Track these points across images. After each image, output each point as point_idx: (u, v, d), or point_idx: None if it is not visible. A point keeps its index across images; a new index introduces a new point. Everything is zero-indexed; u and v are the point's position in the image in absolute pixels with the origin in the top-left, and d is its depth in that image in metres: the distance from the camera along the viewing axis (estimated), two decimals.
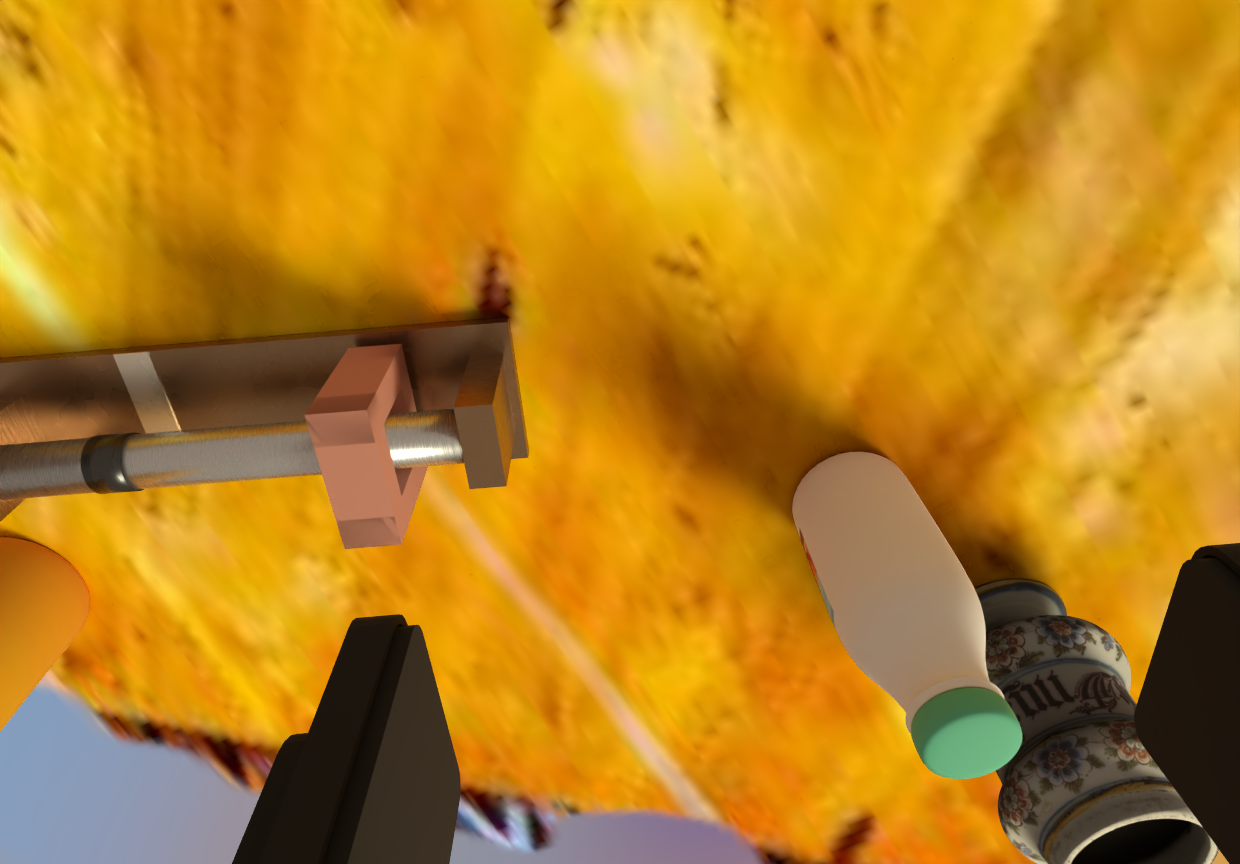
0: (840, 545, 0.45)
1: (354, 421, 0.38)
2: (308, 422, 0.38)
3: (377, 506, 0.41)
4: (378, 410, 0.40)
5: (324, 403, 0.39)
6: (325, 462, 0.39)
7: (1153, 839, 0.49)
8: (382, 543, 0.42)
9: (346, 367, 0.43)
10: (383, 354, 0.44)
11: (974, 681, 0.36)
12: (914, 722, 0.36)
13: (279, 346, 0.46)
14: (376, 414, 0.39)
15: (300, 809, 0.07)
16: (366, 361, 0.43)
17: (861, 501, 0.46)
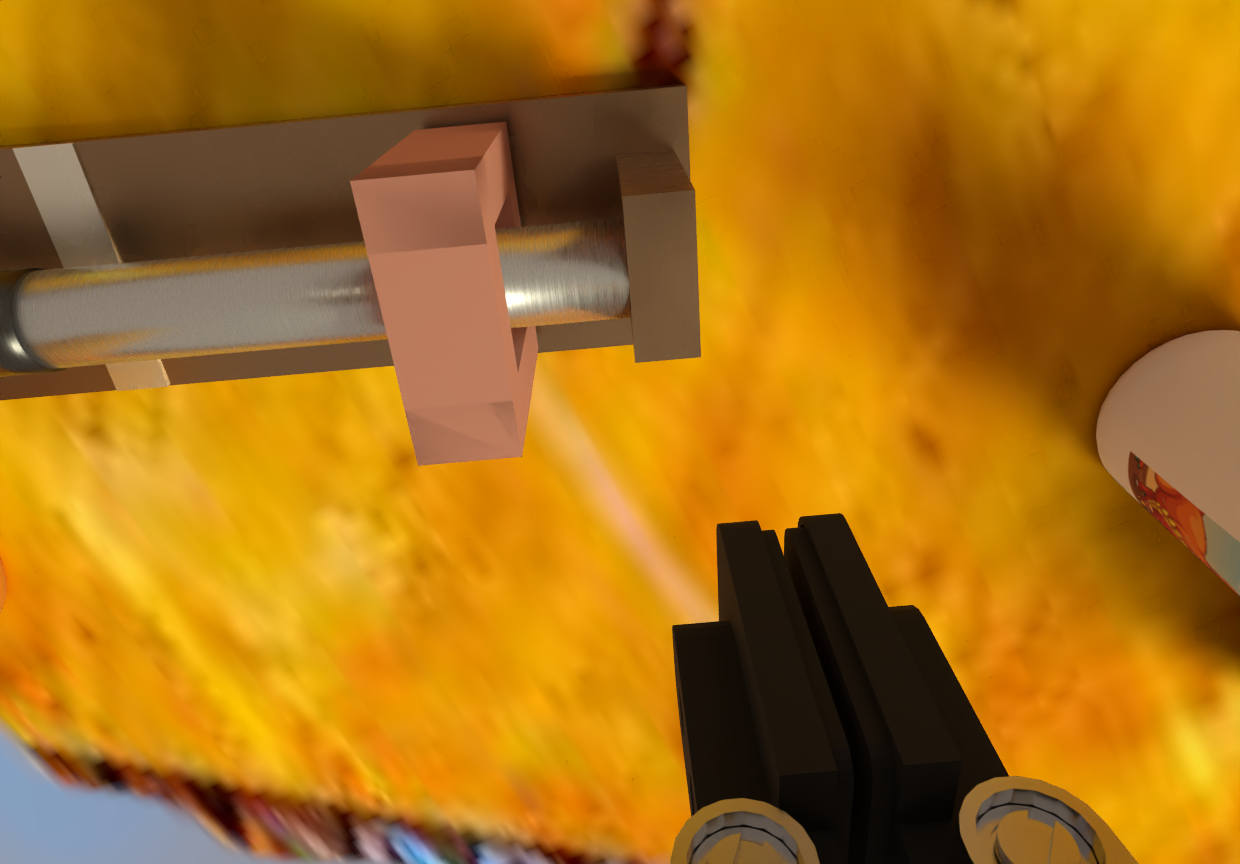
0: None
1: (448, 196, 0.19)
2: (358, 198, 0.19)
3: (483, 380, 0.22)
4: (487, 191, 0.21)
5: (387, 169, 0.20)
6: (388, 287, 0.20)
7: None
8: (487, 454, 0.23)
9: (417, 142, 0.24)
10: (479, 129, 0.25)
11: None
12: None
13: (296, 134, 0.27)
14: (486, 195, 0.21)
15: (772, 663, 0.08)
16: (451, 136, 0.24)
17: None
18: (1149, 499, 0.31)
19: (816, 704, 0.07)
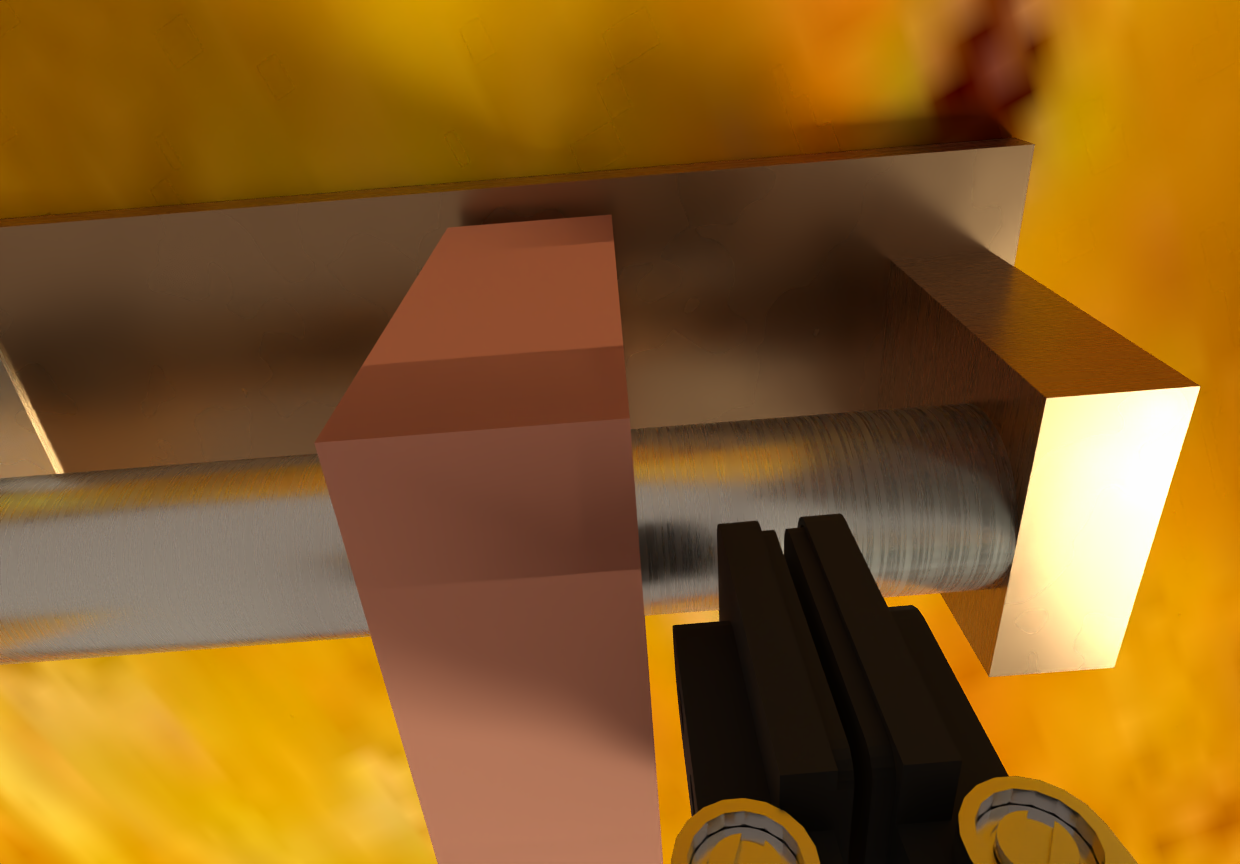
0: None
1: (560, 474, 0.08)
2: (335, 479, 0.08)
3: (602, 803, 0.10)
4: None
5: (406, 388, 0.09)
6: (406, 650, 0.09)
7: None
8: None
9: (459, 270, 0.12)
10: (570, 237, 0.13)
11: None
12: None
13: (340, 221, 0.15)
14: None
15: (772, 663, 0.08)
16: (521, 254, 0.13)
17: None
18: None
19: (817, 704, 0.07)
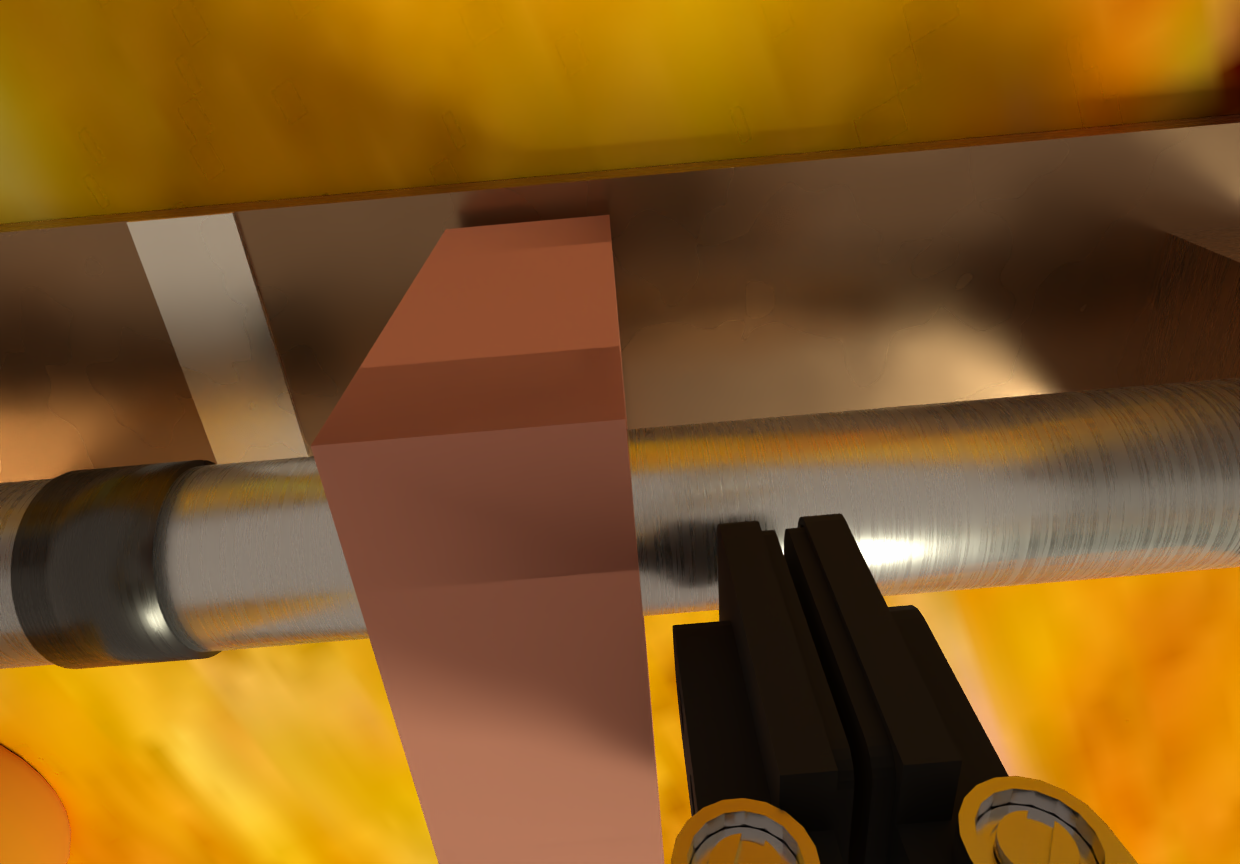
0: None
1: (556, 475, 0.08)
2: (331, 482, 0.08)
3: (602, 804, 0.10)
4: None
5: (403, 390, 0.09)
6: (404, 652, 0.09)
7: None
8: None
9: (457, 271, 0.12)
10: (568, 238, 0.13)
11: None
12: None
13: (628, 197, 0.15)
14: (627, 438, 0.09)
15: (772, 663, 0.08)
16: (519, 255, 0.13)
17: None
18: None
19: (817, 705, 0.07)
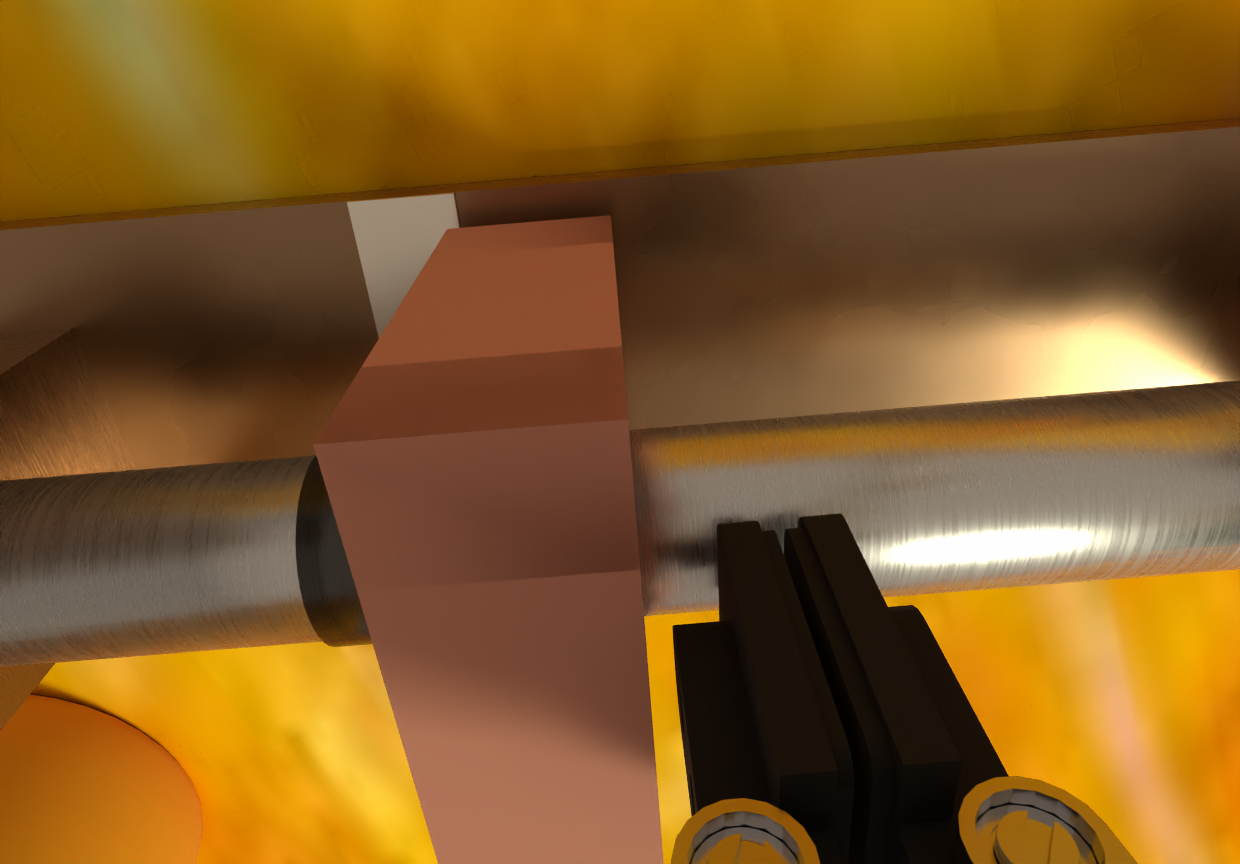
0: None
1: (558, 475, 0.08)
2: (334, 481, 0.08)
3: (602, 804, 0.10)
4: None
5: (405, 389, 0.09)
6: (405, 652, 0.09)
7: None
8: None
9: (458, 271, 0.12)
10: (569, 238, 0.13)
11: None
12: None
13: (848, 180, 0.15)
14: None
15: (772, 663, 0.08)
16: (521, 256, 0.13)
17: None
18: None
19: (816, 704, 0.07)
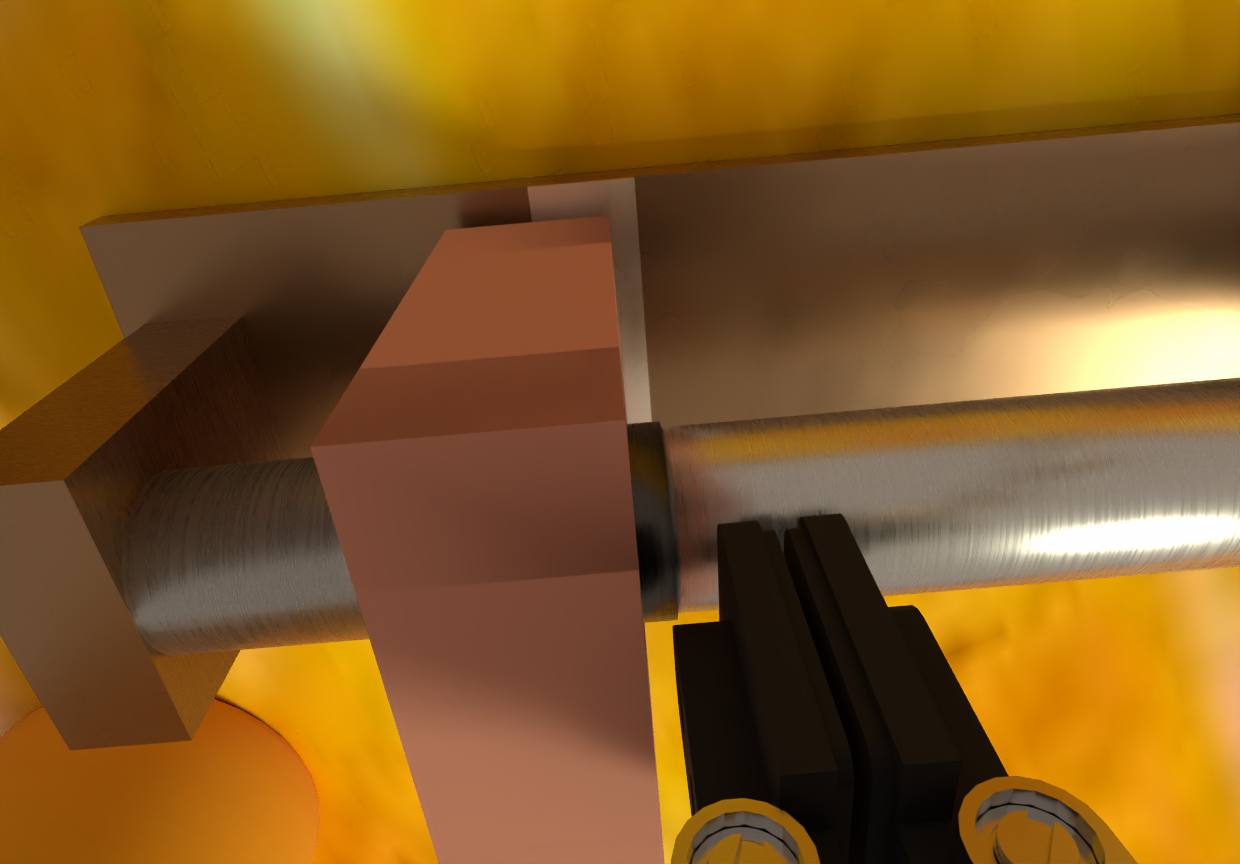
0: None
1: (556, 476, 0.08)
2: (331, 483, 0.08)
3: (602, 805, 0.10)
4: None
5: (402, 391, 0.09)
6: (404, 653, 0.09)
7: None
8: None
9: (457, 272, 0.12)
10: (568, 238, 0.13)
11: None
12: None
13: (1028, 162, 0.15)
14: None
15: (772, 663, 0.08)
16: (519, 256, 0.13)
17: None
18: None
19: (817, 704, 0.07)
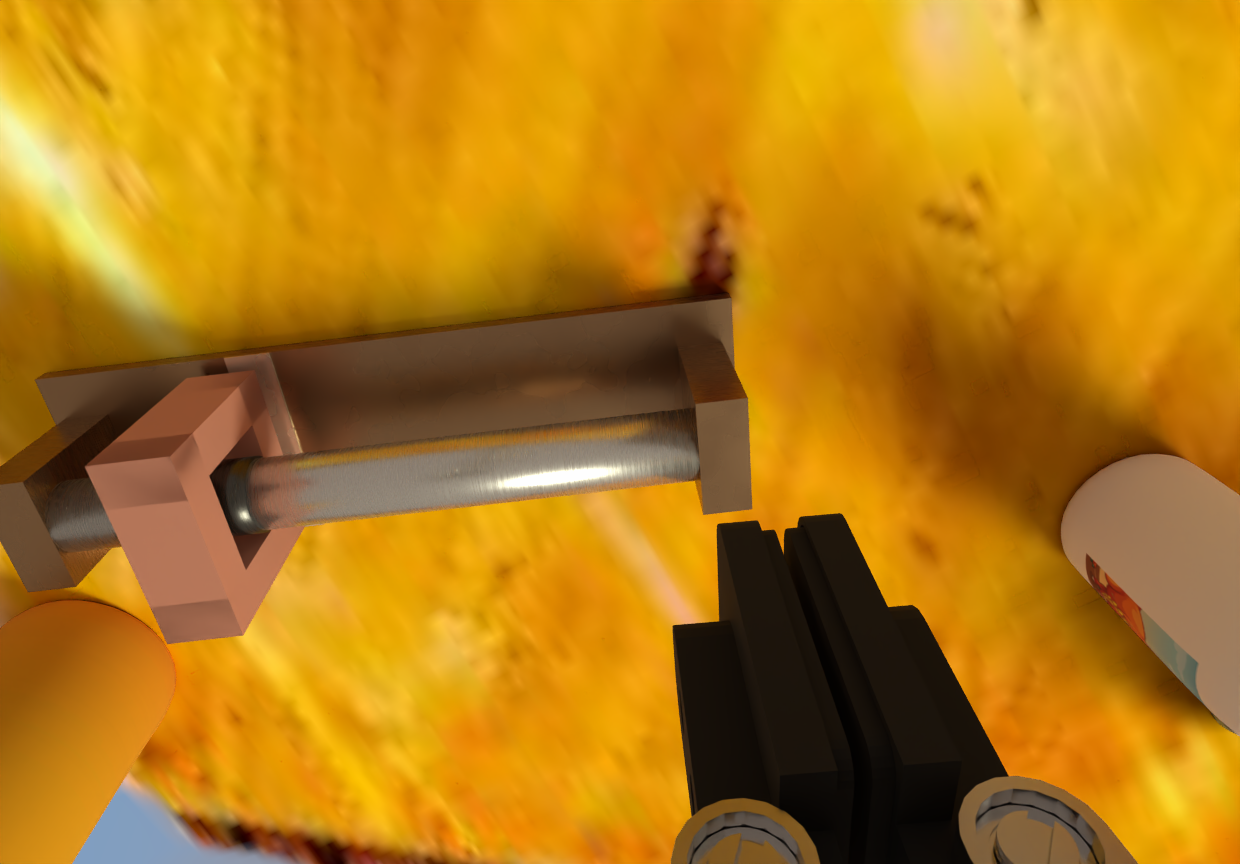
0: (1190, 573, 0.34)
1: (155, 472, 0.28)
2: (92, 476, 0.28)
3: (203, 586, 0.30)
4: (197, 456, 0.30)
5: (119, 449, 0.29)
6: (123, 529, 0.29)
7: None
8: (216, 634, 0.31)
9: (171, 402, 0.32)
10: (226, 384, 0.34)
11: None
12: None
13: (437, 340, 0.35)
14: (192, 462, 0.29)
15: (772, 663, 0.08)
16: (200, 393, 0.33)
17: (1198, 514, 0.35)
18: (1103, 592, 0.39)
19: (816, 704, 0.07)
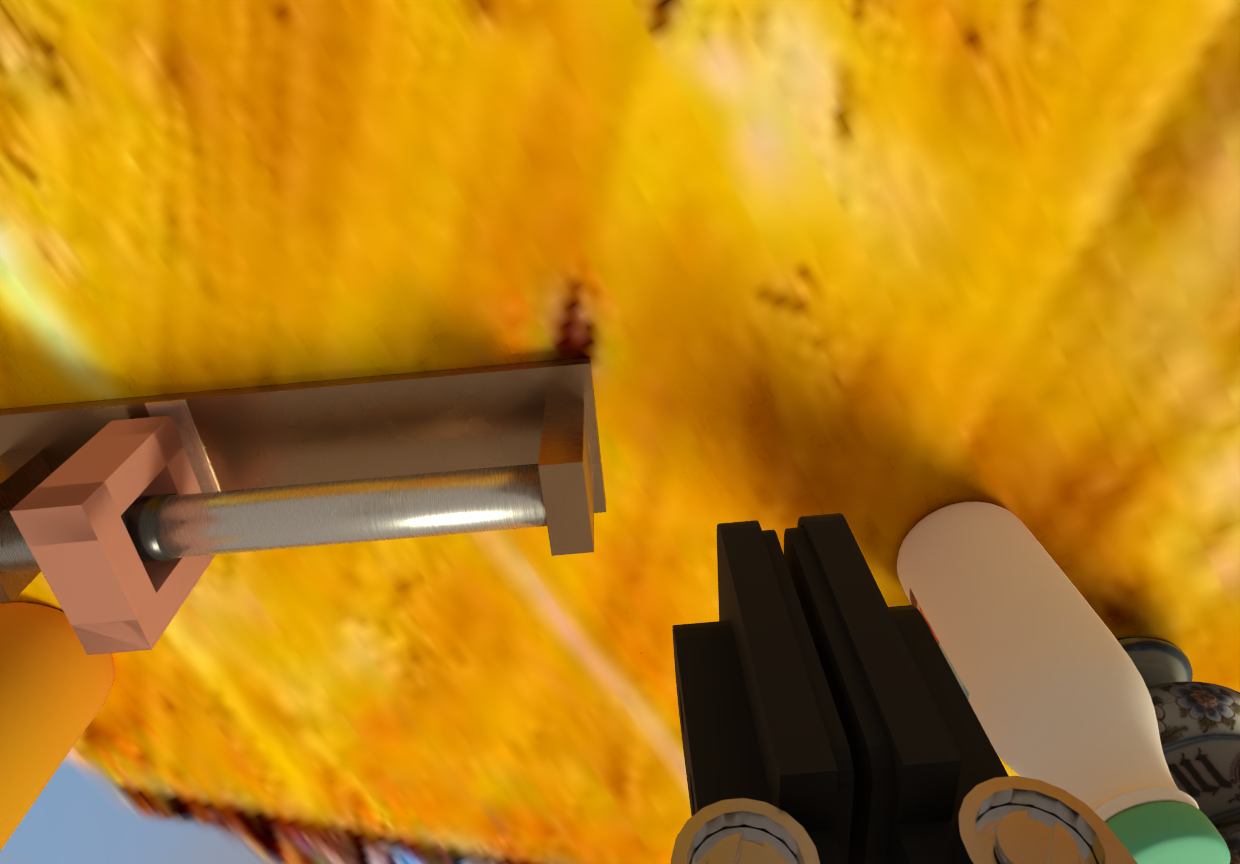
0: (972, 615, 0.39)
1: (69, 517, 0.33)
2: (15, 519, 0.33)
3: (115, 609, 0.36)
4: (109, 501, 0.35)
5: (40, 495, 0.34)
6: (45, 562, 0.34)
7: None
8: (129, 648, 0.37)
9: (93, 446, 0.38)
10: (143, 429, 0.39)
11: (1168, 793, 0.31)
12: None
13: (332, 393, 0.40)
14: (104, 506, 0.34)
15: (772, 663, 0.08)
16: (119, 438, 0.38)
17: (991, 563, 0.41)
18: None
19: (817, 704, 0.07)
